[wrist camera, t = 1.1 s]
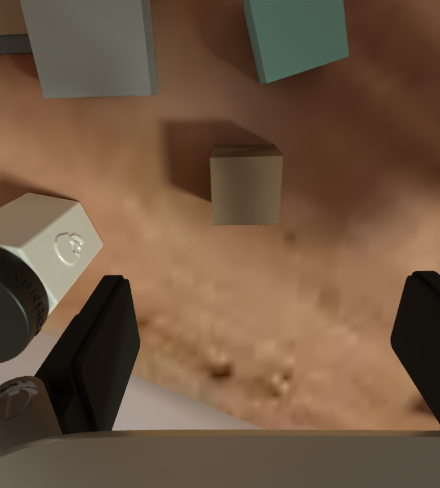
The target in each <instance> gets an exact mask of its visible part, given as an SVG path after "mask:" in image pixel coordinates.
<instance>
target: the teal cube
mask: <svg viewBox="0 0 440 488" xmlns="http://www.w3.org/2000/svg"><path fill="white" fill-rule="evenodd" d="M243 10H244V14H245V19H246V23H247V28H248V33H249V37H250V42H251V46H252V51H253V55H254V60H255V64H256V69H257V74H258V78H259V83H260V84H267V83H270V82H273V81H276V80H279V79H282V78H285V77H288V76H291V75H294V74H297V73H301V72H304V71H307V70H310V69H313V68H316V67H319V66H322V65H325V64H328V63H331V62H334V61H337V60H340V59H343V58H346V57H349V50H348V40H347V31H346V22H345V12H344V3H343V0H244V4H243Z"/></svg>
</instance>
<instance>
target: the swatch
mask: <svg viewBox="0 0 440 488" xmlns="http://www.w3.org/2000/svg"><path fill="white" fill-rule="evenodd" d="M14 53H33V52H32V48H31V44H30V40H29V36H28V32H27V27H26V23H25V19H24V15H23V11H22V7H21V3H20V0H0V54H14Z"/></svg>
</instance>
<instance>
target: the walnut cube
mask: <svg viewBox="0 0 440 488" xmlns="http://www.w3.org/2000/svg"><path fill="white" fill-rule="evenodd" d="M282 171H283V155H282V154H281V153H280V151H279V150H278V149H277V148H276V146H275V145H274V144H273V145H234V146H213V148H212V152H211V156H210V172H211V196H212V220H213V225H260V224H279V223H280V206H281V188H282Z"/></svg>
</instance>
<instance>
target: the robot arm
mask: <svg viewBox="0 0 440 488" xmlns="http://www.w3.org/2000/svg"><path fill="white" fill-rule="evenodd" d="M390 340H391V346H392V349H393V350H394V352H395V353H396V355H397V357H398V358H399V360H400V361H401V363H402V365H403V366H404V368H405V369H406V371H407V373H408V374H409V376H410V377H411V379H412V381H413V382H414V384H415V385H416V387H417V389H418V390H419V392H420V393H421V395H422V397H423V398H424V400H425V401H426V403H427V404H428V406H429V408H430V409H431V411H432V412H433V414H434V416H435V417H436V419H437V420H438V422H439V424H440V275H439V274H438V273H437V272H435V271H415V272H413V273H412V275H411V276H408V277H407V279H406V282H405V286H404V289H403V293H402V297H401V301H400V304H399V308H398V312H397V316H396V319H395V323H394V327H393V330H392V334H391V339H390ZM139 348H140V337H139V332H138V326H137V321H136V316H135V310H134V305H133V299H132V294H131V289H130V283H129V280H128V279H124V278H123V276H122V275H105V276H104V277H103V278H102V279H101V281H100V282H99V284H98V286H97V287H96V289H95V290H94V292H93V293H92V295H91V296H90V298H89V299H88V301H87V302H86V304H85V305H84V307H83V308H82V310H81V311H80V313H79V314H77V315H76V316H75V317H74V318H73V319H72V321H71V322H70V324H69V325H68V327H67V328H66V330H65V331H64V333H63V334H62V336H61V337H60V339H59V340H58V342H57V344H56V345H55V346H54V348H53V349H52V351H51V352H50V353H49V355H48V356H47V358H46V360H45V361H44V362H43V364H42V365H41V367H40V368H39V370H38V371H37V373H36V374H35V376H23V377H17V378H14V379H12V380H9V381H6V382H5V383H3V384H1V385H0V488H440V431H417V430H127V431H112V428H113V425H114V422H115V419H116V416H117V413H118V410H119V407H120V404H121V401H122V398H123V395H124V393H125V390H126V387H127V384H128V381H129V378H130V375H131V372H132V369H133V366H134V363H135V360H136V357H137V355H138V352H139Z"/></svg>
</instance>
